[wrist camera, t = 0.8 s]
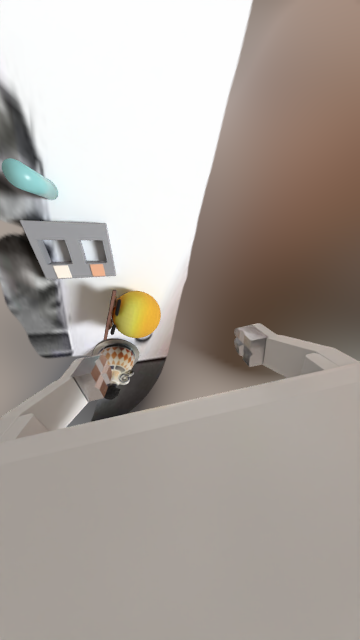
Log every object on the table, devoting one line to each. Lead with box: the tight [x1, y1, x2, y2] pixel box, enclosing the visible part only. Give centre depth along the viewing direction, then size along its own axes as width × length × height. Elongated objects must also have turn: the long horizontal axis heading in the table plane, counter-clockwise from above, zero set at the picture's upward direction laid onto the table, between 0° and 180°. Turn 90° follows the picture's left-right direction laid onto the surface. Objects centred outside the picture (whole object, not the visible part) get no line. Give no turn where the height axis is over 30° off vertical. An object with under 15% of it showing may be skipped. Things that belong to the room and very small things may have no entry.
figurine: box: [92, 339, 139, 399], centre depth 55 cm, size 18×18×20 cm
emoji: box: [104, 290, 161, 340], centre depth 47 cm, size 16×16×15 cm
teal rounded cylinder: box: [2, 159, 58, 200], centre depth 28 cm, size 4×4×12 cm
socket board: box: [20, 220, 116, 280], centre depth 39 cm, size 13×17×3 cm
